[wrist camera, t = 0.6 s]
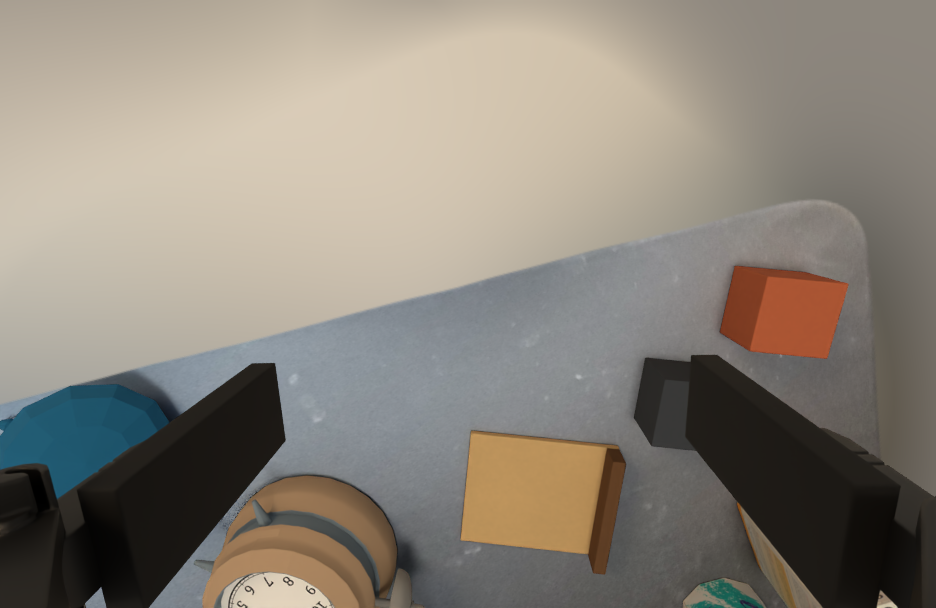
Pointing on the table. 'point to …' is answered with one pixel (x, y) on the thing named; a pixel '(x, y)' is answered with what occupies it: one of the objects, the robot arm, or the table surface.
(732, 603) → the mug
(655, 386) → the slate cube
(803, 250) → the table surface
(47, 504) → the robot arm
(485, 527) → the tan flat wooden board
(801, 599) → the supplement box
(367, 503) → the alarm clock
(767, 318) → the terracotta cube
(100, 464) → the toy
